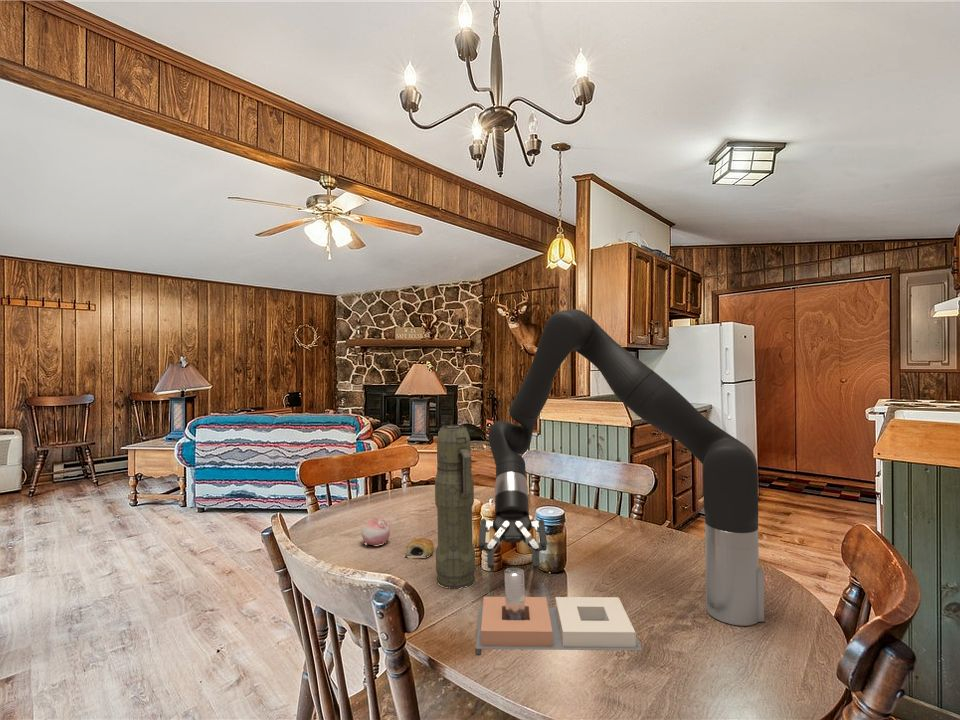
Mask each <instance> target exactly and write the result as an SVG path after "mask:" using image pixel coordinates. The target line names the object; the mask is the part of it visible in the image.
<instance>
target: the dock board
mask: <svg viewBox="0 0 960 720" xmlns="http://www.w3.org/2000/svg"><path fill="white" fill-rule="evenodd" d="M482 600H483V601H482V606H479V609H478V617H477V618H478V619H477V629H476V630H477V631H476V641H475V655H482V650H547V651H548V650H549V651H551V650H553V651H555V650H556V651H558V650H560V651H562V650H563V651H565V650H566V651H635V652H636V651H643V648H642V646H641V644H640V642H639V639H638V637H637V635H636V634H637V633H636V631H635V629H634V628H635V627H633V626H634V625H633V624H632V621H631V619H630V618H629V616H628V614H627V612H626V610H625V608H624V606H623V603H622V602H621V600H620V597H615V596H613V597H612V596H611V597H606V596H605V597H604V596H603V597H601V596H599V597H598V596H597V597H595V596H594V597H593V596H592V597H591V596H590V597H589V596H587V597H586V596H585V597H584V596H583V597H582V596H579V597H578V596H555V607H549V605H548V600H547V596H525V620H506V612H505V596H483V599H482Z"/></svg>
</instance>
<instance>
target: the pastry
mask: <svg viewBox="0 0 960 720" xmlns="http://www.w3.org/2000/svg"><path fill="white" fill-rule="evenodd" d="M434 548H435V547H434V543H433V541H432V539H428V538H425V537H421V538H417V539H414V540H411V541H410V542H409V543H408V544H407V545H406V551H405V552H404V555H405V556H406V557H407V556H419V557H427V556H429V555H431V556H432V554H433V551H434ZM429 557H430V556H429Z"/></svg>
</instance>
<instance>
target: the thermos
mask: <svg viewBox="0 0 960 720" xmlns="http://www.w3.org/2000/svg"><path fill="white" fill-rule="evenodd" d="M436 462H437V467H436V468H437V472H436V475H435V478H434V500H435V503H434V504H435V506H436V508H437V509H436V510H437V547H436V550H435V572H436V583H437V582H438V583H439V584H440V585H442V586H444V587H448V588H449V587H450V588H461V587H465V586H468V587H470V586H471V584H472V583H473V582H474V583H475V581H476V578H475V571H476V549H475V547H474V544H473V543H474V542H473V506H474V503H475V498H474V497H475V492H474V491H475V487H474V482H475V481H474V480H475V479H474V478H473V475H472V454H471V437H470V434H469V431H468V429H467V427H466V426H464V425H462V424H448V425H446V424H445V425H443V426H442V427H440V428H439V431H438V435H437V438H436ZM438 583H437V584H438ZM474 583H473V584H474ZM473 584H472V585H473ZM440 585H439V586H440ZM469 585H470V586H469ZM444 587H443V588H444ZM448 588H447V589H448ZM465 588H466V587H465ZM461 589H462V588H461Z"/></svg>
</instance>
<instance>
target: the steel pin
mask: <svg viewBox="0 0 960 720" xmlns="http://www.w3.org/2000/svg"><path fill="white" fill-rule="evenodd" d="M525 589H526V588H525V571H524V570H523V569H522V568H519V567H509V568H507V569H505V570H504V597H505V612H506V620H525V597H526V595H525V592H526V591H525Z"/></svg>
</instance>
